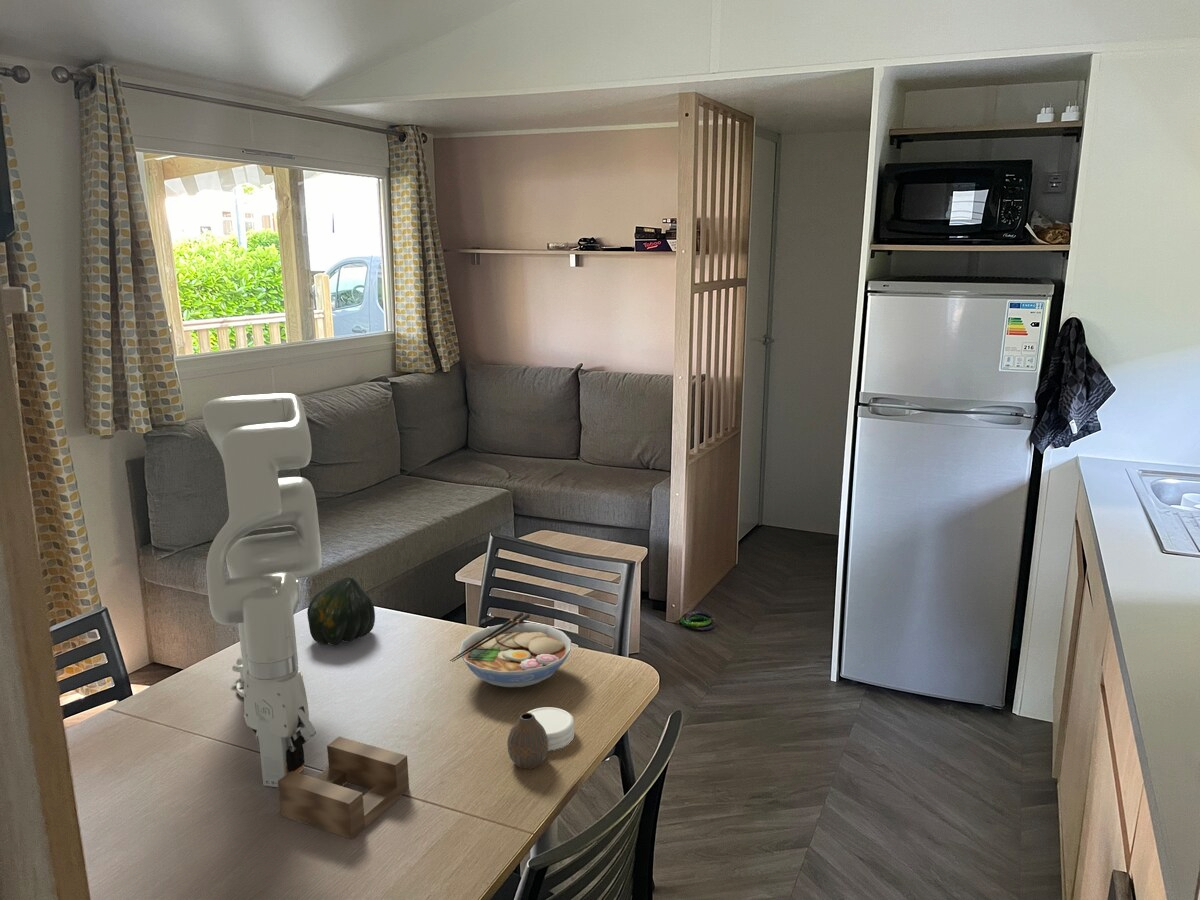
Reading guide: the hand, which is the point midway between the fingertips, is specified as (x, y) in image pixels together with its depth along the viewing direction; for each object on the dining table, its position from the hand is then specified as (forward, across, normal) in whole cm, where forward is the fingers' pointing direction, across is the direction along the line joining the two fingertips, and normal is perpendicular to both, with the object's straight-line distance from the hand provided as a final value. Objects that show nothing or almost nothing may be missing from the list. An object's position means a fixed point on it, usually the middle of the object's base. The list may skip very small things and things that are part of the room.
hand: (283, 763), depth 148 cm
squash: (+3, -28, +47) cm, 55 cm away
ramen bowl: (+3, +18, +46) cm, 49 cm away
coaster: (+3, +34, +29) cm, 45 cm away
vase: (+3, +35, +21) cm, 41 cm away
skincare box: (+3, 0, 0) cm, 3 cm away
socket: (+3, +14, -1) cm, 14 cm away
